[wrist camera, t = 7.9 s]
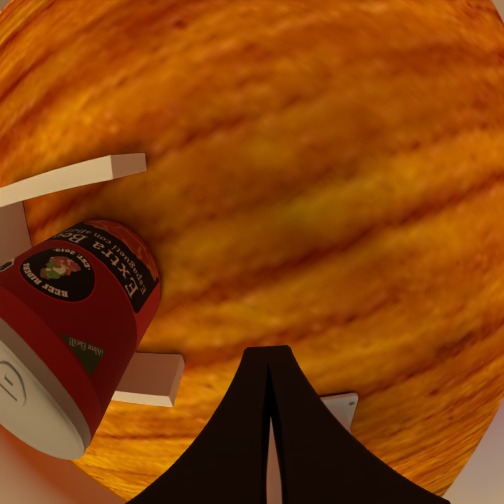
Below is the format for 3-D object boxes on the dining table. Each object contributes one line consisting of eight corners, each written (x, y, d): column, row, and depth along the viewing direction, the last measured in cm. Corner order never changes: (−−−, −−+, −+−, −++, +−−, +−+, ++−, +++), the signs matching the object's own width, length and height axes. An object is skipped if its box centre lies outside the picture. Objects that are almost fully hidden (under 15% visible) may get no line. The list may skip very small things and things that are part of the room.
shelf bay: (184, 364, 18) (166, 432, 13) (63, 354, 19) (29, 400, 13) (145, 152, 14) (84, 157, 8) (12, 187, 14) (-49, 207, 8)
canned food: (185, 253, 16) (95, 408, 5) (141, 346, 18) (81, 478, 8) (78, 192, 14) (-73, 257, 4) (54, 292, 17) (-40, 387, 6)
